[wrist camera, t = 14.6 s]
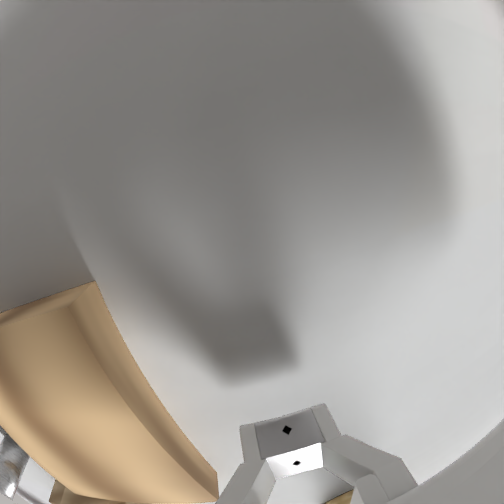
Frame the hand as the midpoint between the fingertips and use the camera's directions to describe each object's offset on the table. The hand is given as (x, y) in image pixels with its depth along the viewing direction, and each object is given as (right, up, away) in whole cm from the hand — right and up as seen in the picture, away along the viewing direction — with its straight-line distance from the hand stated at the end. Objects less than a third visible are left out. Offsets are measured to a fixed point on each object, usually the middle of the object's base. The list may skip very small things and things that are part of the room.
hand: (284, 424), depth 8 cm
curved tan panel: (-9, -2, +1) cm, 10 cm away
